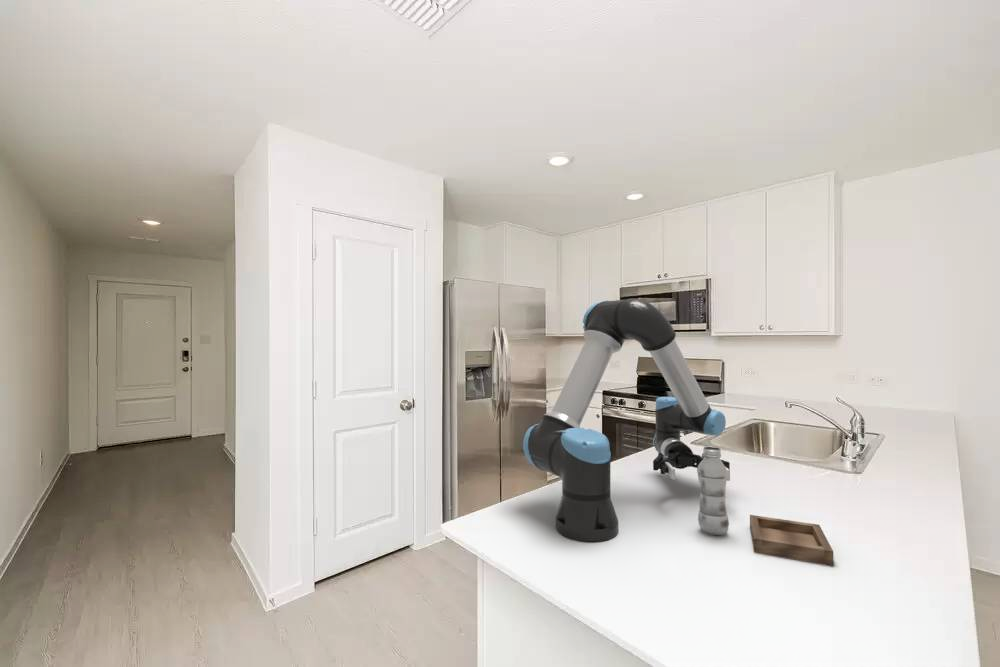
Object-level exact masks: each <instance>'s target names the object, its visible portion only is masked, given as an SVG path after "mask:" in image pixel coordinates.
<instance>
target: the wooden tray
mask: <svg viewBox="0 0 1000 667" xmlns="http://www.w3.org/2000/svg"><path fill="white" fill-rule="evenodd" d="M749 530H750V536H751V540H752V541H751V542H752V547H753V553H756V554H762V555H768V556H774V557H778V558H779V557H780V558H783V559H790V560H797V561H802V562H807V563H813V564H817V565H818V564H819V565H825V566H830V567H834V566H835V565H834V550H833V548H832V546H831V543H829V541H828V538H827V537H826V535H825V533H824V531H823V529H822V527H821V525H820V524H817V523H809V522H802V521H795V520H789V519H782V518H774V517H768V516H761V515H753V514H749Z"/></svg>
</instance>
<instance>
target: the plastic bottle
mask: <svg viewBox="0 0 1000 667" xmlns="http://www.w3.org/2000/svg"><path fill="white" fill-rule="evenodd" d="M721 453H722V449H721V448H719V447H715V446H705V447H703V453H702V454H703V456H704V459H703V460H702V461H701V462H700V464H699V465H698V468H696V471H697V478H698V484H699V492H700V494H699V496H700V500H699V501H700V502H699V511H698V516H697V517H698V518H697V520H698V521H697V522H698V526H699V528H700V530H701V531H703V532H704V533H706V534H708V535H709V534H710V535H714V536H723V535H726V533H728V531H729V526H730V522H729V516H728V512H727V504H726V494H727V493H726V488H727V482H728V481H727V469H726V467H725V466H724V464H723V463H722V461H721V460H722V459H721V458H722V454H721Z"/></svg>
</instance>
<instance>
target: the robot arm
mask: <svg viewBox="0 0 1000 667" xmlns="http://www.w3.org/2000/svg"><path fill="white" fill-rule="evenodd" d="M582 323H583V326H582V327H583V330H584V332H583V337H584V340H585V342H584V343H583V346H582V347H581V349H580V352H579V354H578V356H577V358H576V360H575V362H574V364H573V367H572V369H571V370H570V373H569V374H568V377H567V379H566V381H565V383H564V384H563V386H562V389H561V391H560V393H559V395H558V397H557V399H556V401H555V404H554V405H553V408H552V409H551V411H549V412H546V413H544V414H543V415H542V417H541V420H540V422H539V423H537V424H534V425H532V426H530V427H529V428H528V429H527V430H526V432H525V434H524V436H523V442H522V449H523V452H524V456H525V458H526V460H527V462H528V463H530V465H532V466H534V467H535V468H537V469H539V470H541V471H544V472H548V473H550V474H552V475H555V476H557V477H560V478H561V484H562V485H561V487H562V488H561V489H562V490H561V491H562V495H561V499H560V502H559V504H558V507H557V508H558V509H557V512H556V514H555V529H556V530H557V532H558V533H560V534H561V535H562V536H565V537H567V538H569V539H571V540H576V541H580V542H590V543H591V542H603V541H607V540H611V539H613V538H615V537H616V536H617V535H618V533H619V519H618V516H617V513H616V510H615V507H614V505H613V502H612V497H611V464H612V463H611V459H612V458H611V454H612V452H611V450H610V448H611V447H610V440H609V438H608V437H607V436H606V435H605V434H604V433H602V432H600V431H597V430H593V429H591V428H584V427H581V424H582V421H583V419H584V417H585V415H586V413H587V411H588V409H589V406H590V404H591V402H592V399H593V398H594V395H595V393H596V391H597V389H598V386H599V385H600V383H601V380H602V378H603V376H604V373H605V371H606V370H607V368H608V367H607V366H608V365H609V363H610V360H611V359H612V356H613V354H616V353H618V352H619V351H621V349H622V347H623V345H624V342H625V341H627V340H630V341H631V340H635V341H636V342H638V343H639V344H640V346H641V348H642V349H643V350H644V351H646V352H648V353H650V355H651V356H650V357H652V359H653V361H654V363H655V364H656V366H657V368H658V371H660V373H661V375H662V378H664V380H665V382H666V384H667V386H668V387H669V389H670V391H671V394H673V396H674V397H673V396H660V397H657V398H656V399H655V409H654V414H655V434H654V437H653V440H652V444H653V447H654V448H655V451H656V452H657V453H658V454H657V456H656V457H655V458H654V459H653V460H652V468H653V471H659V470H660V472H659V473H660V474H661V475H665V474H667V476H669V478H670V479H671V480H676V469H679V470H682V469H686V468H690V467H692V468H695V469H697V468H698V465H699V464H700V462H701V461H702V460H703V459H704V456H703V453H702V454H701V455H699V454H695V453H694V452H693V451H692V449H691V448H690V447H689V446H688V445H687V444H685V443H684V441H682V440H681V430H682V431H687V432H693V433H697V434H701V435H705V436H714V437H715V436H716V437H717V436H720V435H721V434H722V433H723V432H724V430H725V428H726V425H727V424H726V422H727V421H726V416H725V414H724V413H723V412H721V411H720V410H716V409H712V408H711V406H710V404H709V402H708V400H707V399H706V397H705V395H704V393H703V391H702V389H701V387H700V384H699V383H698V381H697V380H696V378H695V375H694V374H693V372H692V370H691V368H690V366H689V364H688V363H687V361H686V360H687V359H685V357H684V355H683V353H682V351H681V350H680V347H679V346H678V344H677V342H676V338H677V333H676V331H675V330H674V327H673V326H672V324H671V323H670V321H669V319H668V318H667V317H666V316H665V315H664V314H663V313H662V312H661V311H660V310H659V309H658V308H657V307H656V306H654V305H653V304H652V303H650V302H648V301H647V300H644V299H641V298H628V299H618V300H617V299H616V300H602V301H600V302H596V303H594V304H592V305H590V306H589V308H587V309H586V311H585V313H584V315H583V319H582ZM720 460H721V461H722V463H723V464H724V466H725V467H726V469H727V481H726V482H728V481H730V482H731V471H730V470H731V468H730V467H731V466H730V464H731V463H730V462H729V461H727V460H724V459H720Z"/></svg>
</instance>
